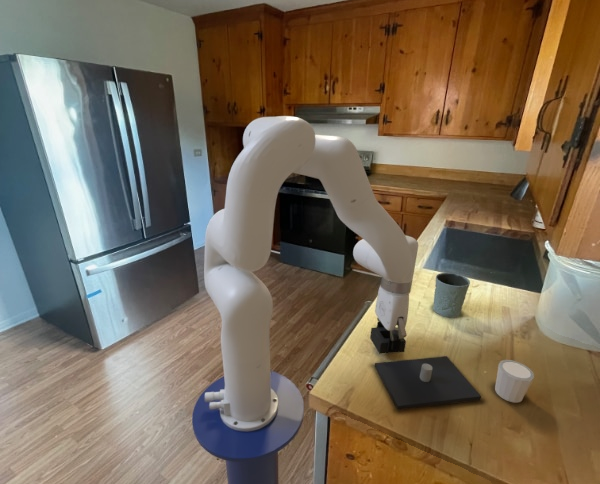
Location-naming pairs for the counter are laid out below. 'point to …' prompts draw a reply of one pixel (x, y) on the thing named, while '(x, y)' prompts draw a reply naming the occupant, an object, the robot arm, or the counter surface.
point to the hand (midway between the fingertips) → (387, 341)
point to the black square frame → (384, 340)
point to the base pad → (425, 382)
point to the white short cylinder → (513, 380)
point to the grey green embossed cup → (450, 294)
